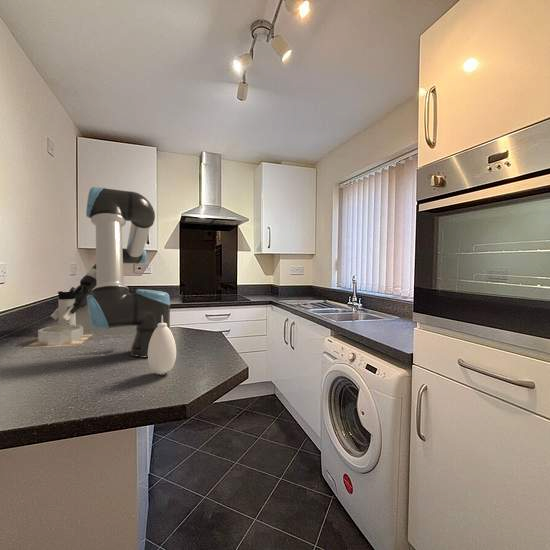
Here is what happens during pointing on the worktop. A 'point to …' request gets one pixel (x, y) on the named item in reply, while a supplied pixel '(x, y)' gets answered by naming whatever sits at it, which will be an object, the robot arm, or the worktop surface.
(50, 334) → the collar
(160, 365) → the sauce bottle
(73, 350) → the worktop surface
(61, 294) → the travel mug
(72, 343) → the birch board
